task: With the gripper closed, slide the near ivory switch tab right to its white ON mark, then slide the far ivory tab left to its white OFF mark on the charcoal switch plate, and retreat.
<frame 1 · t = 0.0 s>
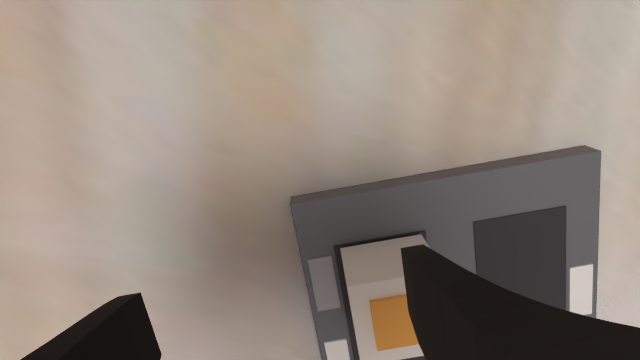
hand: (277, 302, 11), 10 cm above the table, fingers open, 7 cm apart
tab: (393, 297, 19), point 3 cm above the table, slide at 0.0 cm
switch plate: (450, 321, 24), on the table
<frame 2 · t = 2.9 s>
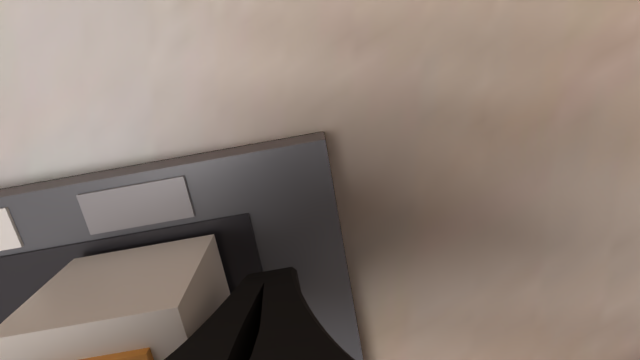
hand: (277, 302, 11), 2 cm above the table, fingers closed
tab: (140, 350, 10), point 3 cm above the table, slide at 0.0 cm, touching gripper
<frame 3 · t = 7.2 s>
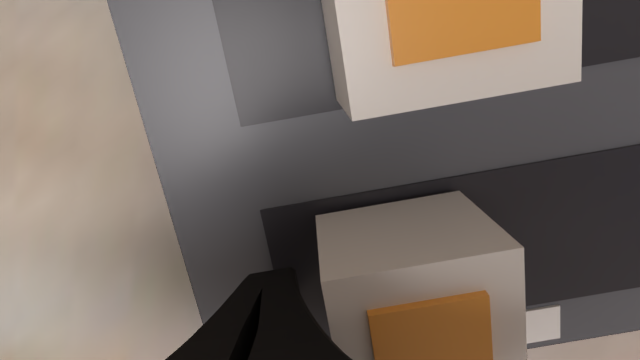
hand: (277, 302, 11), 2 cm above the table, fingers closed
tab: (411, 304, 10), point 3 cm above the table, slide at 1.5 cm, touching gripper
switch plate: (468, 121, 12), on the table
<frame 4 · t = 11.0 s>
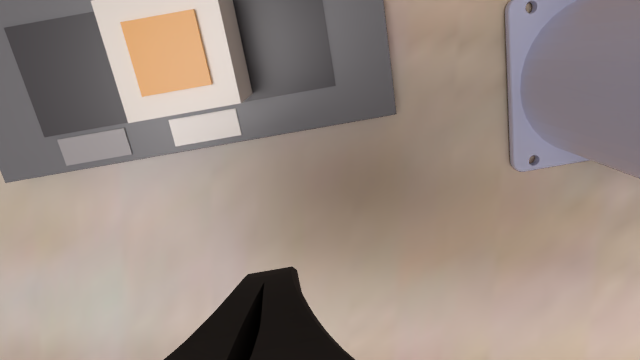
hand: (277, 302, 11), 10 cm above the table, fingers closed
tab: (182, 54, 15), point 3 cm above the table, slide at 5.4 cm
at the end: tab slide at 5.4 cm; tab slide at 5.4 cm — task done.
